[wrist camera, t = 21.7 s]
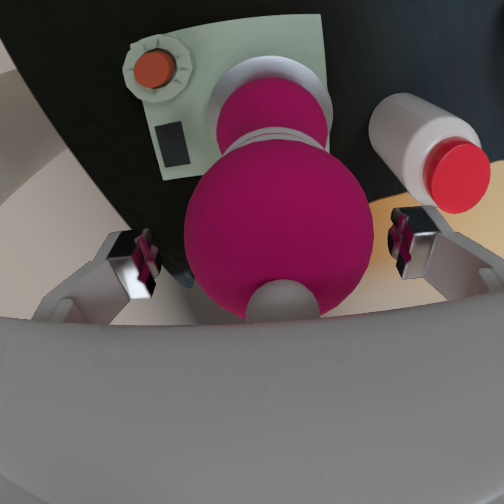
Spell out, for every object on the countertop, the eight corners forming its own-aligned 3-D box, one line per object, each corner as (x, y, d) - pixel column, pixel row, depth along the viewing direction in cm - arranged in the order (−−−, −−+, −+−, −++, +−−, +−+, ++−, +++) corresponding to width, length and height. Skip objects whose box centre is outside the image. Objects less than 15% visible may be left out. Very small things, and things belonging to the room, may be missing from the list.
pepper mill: (293, 168, 25) (330, 412, 9) (213, 139, 23) (120, 371, 8) (331, 94, 20) (495, 279, 5) (243, 59, 19) (143, 131, 3)
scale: (163, 175, 29) (154, 188, 27) (131, 45, 20) (117, 46, 18) (327, 158, 27) (333, 171, 25) (317, 15, 18) (324, 12, 16)
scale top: (169, 181, 26) (168, 183, 26) (143, 77, 20) (141, 78, 20) (333, 165, 25) (334, 167, 24) (328, 52, 18) (329, 52, 18)
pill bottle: (389, 177, 28) (435, 243, 20) (353, 117, 24) (400, 163, 16) (445, 143, 25) (507, 196, 16) (416, 79, 21) (487, 109, 13)
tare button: (144, 88, 21) (137, 91, 20) (137, 56, 19) (129, 58, 18) (177, 80, 21) (172, 83, 19) (171, 47, 19) (165, 47, 17)
